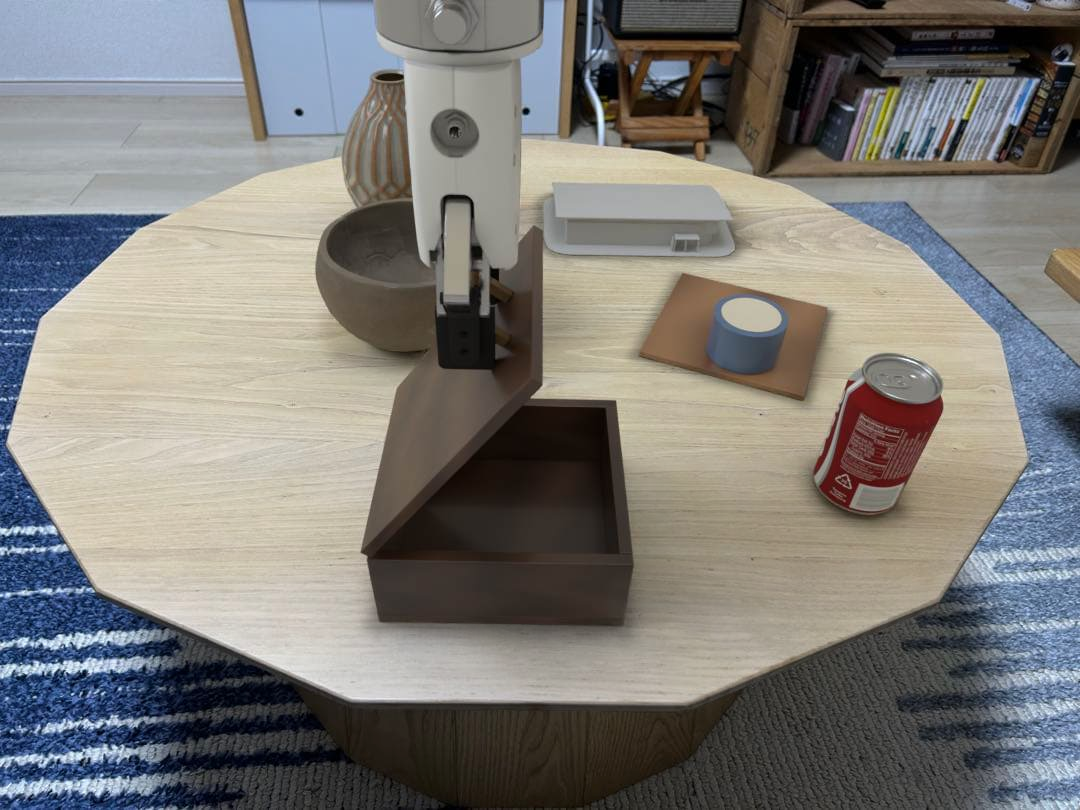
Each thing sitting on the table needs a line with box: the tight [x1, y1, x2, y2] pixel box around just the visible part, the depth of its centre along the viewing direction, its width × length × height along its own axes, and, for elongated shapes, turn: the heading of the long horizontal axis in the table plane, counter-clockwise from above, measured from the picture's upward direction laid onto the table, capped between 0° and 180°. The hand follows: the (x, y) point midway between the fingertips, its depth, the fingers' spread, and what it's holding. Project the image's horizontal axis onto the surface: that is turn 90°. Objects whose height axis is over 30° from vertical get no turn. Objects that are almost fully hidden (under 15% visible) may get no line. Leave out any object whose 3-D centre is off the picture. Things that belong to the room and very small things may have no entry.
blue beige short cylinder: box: [706, 295, 789, 375], centre depth 74 cm, size 7×7×4 cm
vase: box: [341, 68, 413, 209], centre depth 89 cm, size 13×13×18 cm
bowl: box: [314, 198, 437, 353], centre depth 75 cm, size 17×18×10 cm
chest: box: [366, 397, 635, 627], centre depth 56 cm, size 17×16×7 cm
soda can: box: [812, 352, 944, 516], centre depth 59 cm, size 7×7×12 cm
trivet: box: [638, 272, 828, 401], centre depth 79 cm, size 16×16×1 cm
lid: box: [360, 224, 544, 557], centre depth 48 cm, size 18×16×5 cm
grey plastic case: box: [542, 181, 736, 258], centre depth 94 cm, size 15×23×4 cm, turn 91°
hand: (470, 330), depth 46 cm, fingers closed on lid, 5 cm apart
